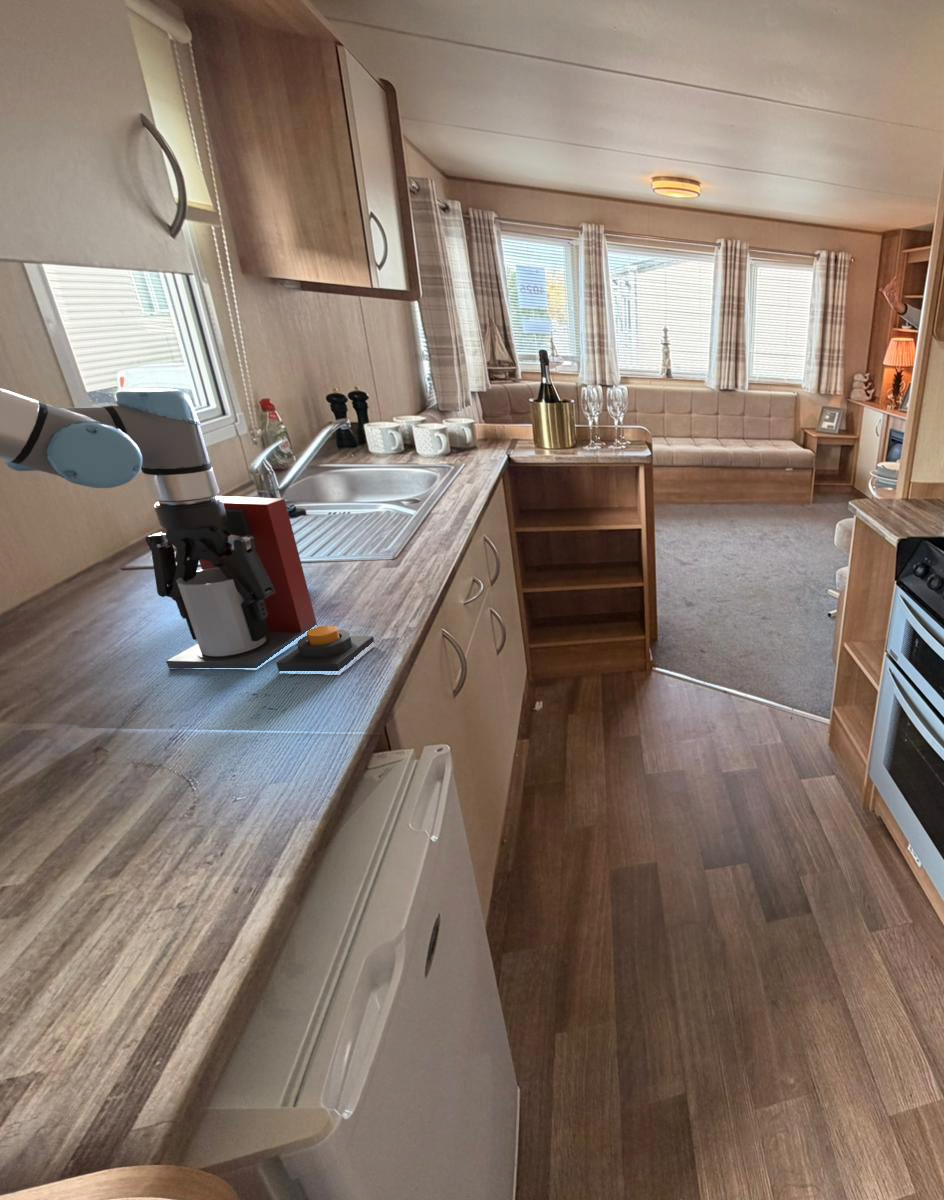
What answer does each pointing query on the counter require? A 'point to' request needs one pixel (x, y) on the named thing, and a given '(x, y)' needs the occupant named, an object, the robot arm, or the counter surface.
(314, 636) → the button
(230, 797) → the counter surface
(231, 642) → the white tumbler
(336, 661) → the control block
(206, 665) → the coffee machine
